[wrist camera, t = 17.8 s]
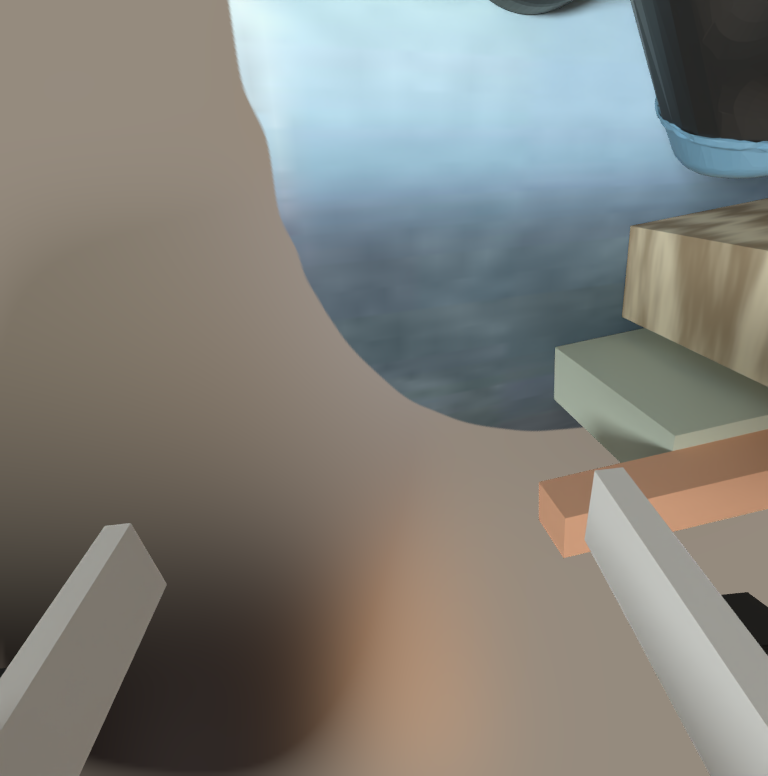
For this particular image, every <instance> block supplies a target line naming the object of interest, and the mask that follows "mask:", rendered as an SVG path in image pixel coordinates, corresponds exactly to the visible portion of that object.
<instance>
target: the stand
mask: <svg viewBox="0 0 768 776" xmlns="http://www.w3.org/2000/svg"><path fill="white" fill-rule="evenodd" d="M622 317H623V318H626V319H628V320H630V321H632V322H634V323H636V324H638V325H640V326H642V327H644V328H646V329H648V330H650V331H653V332H655V333H657V334H659V335H661V336H663V337H665V338H667V339H669V340H671V341H673V342H675V343H678V344H680V345H682V346H684V347H686V348H688V349H690V350H692V351H694V352H696V353H698V354H700V355H702V356H705V357H707V358H709V359H711V360H713V361H715V362H717V363H719V364H721V365H723V366H725V367H727V368H729V369H732V370H734V371H736V372H738V373H740V374H742V375H744V376H746V377H748V378H750V379H752V380H754V381H757V382H759V383H761V384H763V385H765V386H767V387H768V198H766V199H761V200H756V201H752V202H747V203H742V204H737V205H732V206H727V207H722V208H717V209H712V210H707V211H702V212H697V213H692V214H687V215H682V216H677V217H673V218H668V219H663V220H658V221H653V222H648V223H643V224H638V225H633V226H631V228H630V238H629V249H628V259H627V270H626V280H625V290H624V301H623V311H622Z"/></svg>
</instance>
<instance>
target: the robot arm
mask: <svg viewBox="0 0 768 776" xmlns="http://www.w3.org/2000/svg"><path fill="white" fill-rule="evenodd" d="M490 1H492V2H493V3H494V4H496V5H498V6H500V7H501V8H504V9H506V10H509V11H512V12H515V13H520V14H540V13H545V12H549V11H553V10H555V9H558V8H560V7H562V6H564V5H566V4H568V3H569V2H571V1H573V0H490ZM630 1H631V4H632V8H633V12H634V16H635V19H636V23H637V27H638V30H639V34H640V38H641V42H642V45H643V49H644V53H645V56H646V60H647V64H648V68H649V71H650V75H651V79H652V82H653V86H654V90H655V94H656V99H655V109H656V114H657V116H658V118H659V119H660V121H661V124H662V125H663V126H664V127H665V128H666V132H667V135H668V138H669V141H670V144H671V147H672V150H673V152H674V154H675V156H676V157H677V158H678V160H679V161H680V162H681V163H682V164H683V165H684V166H685V167H687V168H688V169H690V170H692V171H695V172H697V173H699V174H703V175H707V176H712V177H719V178H752V177H762V176H768V0H630ZM584 540H585V542H586V544H587V545H588V547H589V549H590V551H591V553H592V555H593V556H594V559H595V560H596V562H597V564H598V566H599V568H600V570H601V572H602V573H603V575H604V577H605V579H606V581H607V583H608V585H609V587H610V588H611V590H612V592H613V594H614V596H615V598H616V600H617V602H618V603H619V605H620V607H621V609H622V611H623V613H624V615H625V617H626V619H627V621H628V622H629V624H630V626H631V628H632V630H633V632H634V634H635V635H636V637H637V639H638V641H639V643H640V645H641V647H642V649H643V650H644V652H645V654H646V656H647V658H648V660H649V662H650V664H651V666H652V667H653V669H654V671H655V673H656V675H657V677H658V679H659V681H660V683H661V684H662V686H663V688H664V690H665V692H666V694H667V696H668V697H669V699H670V701H671V703H672V705H673V707H674V709H675V710H676V712H677V714H678V716H679V718H680V720H681V722H682V724H683V726H684V728H685V729H686V731H687V733H688V735H689V737H690V739H691V741H692V743H693V744H694V746H695V748H696V750H697V752H698V754H699V756H700V757H701V759H702V761H703V763H704V765H705V767H706V769H707V771H708V773H709V775H710V776H768V607H767V606H765V605H764V604H763V603H761V602H760V601H759V600H757V599H756V598H755V597H753V596H752V595H750V594H749V593H748V592H745V593H735V594H727V595H721V594H720V593H719V592H718V590H717V589H716V588H715V586H714V585H713V584H712V583H711V581H710V580H709V579H708V577H707V576H706V575H705V573H704V572H703V571H702V570H701V568H700V567H699V566H698V564H697V563H696V562H695V560H694V559H693V558H692V557H691V555H690V554H689V553H688V551H687V550H686V549H685V547H684V546H683V545H682V544H681V542H680V541H679V540H678V538H677V537H676V536H675V535H674V533H673V532H672V530H671V529H670V528H669V527H668V525H667V524H666V523H665V521H664V520H663V519H662V517H661V516H660V515H659V513H658V512H657V511H656V510H655V508H654V507H653V506H652V504H651V503H650V502H649V500H648V499H647V498H646V497H645V495H644V494H643V493H642V491H641V490H640V489H639V487H638V486H637V485H636V484H635V482H634V481H633V480H632V478H631V477H630V476H629V474H628V473H627V472H626V470H625V469H624V468H623V467H621V468H612V469H603V470H595V471H594V478H593V485H592V492H591V498H590V505H589V512H588V519H587V525H586V532H585V539H584ZM166 585H167V584H166V582H165V581H164V579H163V577H162V575H161V574H160V572H159V570H158V569H157V567H156V565H155V564H154V562H153V560H152V558H151V557H150V555H149V553H148V552H147V550H146V548H145V547H144V545H143V543H142V541H141V540H140V538H139V536H138V535H137V533H136V532H135V530H134V528H133V526H132V524H131V523H127V524H119V525H110V526H105V527H104V528H103V530H102V531H101V533H100V534H99V535H98V537H97V538H96V540H95V541H94V543H93V544H92V545H91V547H90V549H89V550H88V551H87V553H86V554H85V556H84V557H83V559H82V560H81V562H80V563H79V564H78V566H77V568H76V569H75V570H74V572H73V573H72V575H71V576H70V578H69V579H68V580H67V582H66V583H65V585H64V586H63V588H62V589H61V591H60V592H59V593H58V595H57V596H56V598H55V600H54V601H53V602H52V604H51V605H50V607H49V608H48V610H47V611H46V612H45V614H44V615H43V617H42V618H41V620H40V621H39V623H38V624H37V625H36V627H35V629H34V630H33V631H32V633H31V634H30V636H29V637H28V639H27V640H26V642H25V643H24V644H23V646H22V647H21V649H20V650H19V652H18V653H17V655H16V656H15V657H14V659H13V661H12V662H11V663H10V665H9V666H8V668H2V669H0V776H79V775H80V772H81V770H82V768H83V766H84V764H85V761H86V759H87V757H88V755H89V753H90V751H91V748H92V746H93V744H94V742H95V739H96V737H97V735H98V733H99V731H100V729H101V726H102V724H103V722H104V720H105V718H106V716H107V713H108V711H109V709H110V707H111V705H112V702H113V700H114V698H115V696H116V694H117V692H118V690H119V687H120V685H121V683H122V681H123V678H124V676H125V674H126V672H127V670H128V668H129V665H130V663H131V661H132V659H133V657H134V655H135V652H136V650H137V648H138V646H139V644H140V641H141V639H142V637H143V635H144V633H145V630H146V628H147V626H148V624H149V622H150V620H151V618H152V615H153V613H154V611H155V609H156V607H157V604H158V602H159V600H160V598H161V596H162V593H163V591H164V589H165V587H166Z"/></svg>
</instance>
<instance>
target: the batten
mask: <svg viewBox="0 0 768 776" xmlns="http://www.w3.org/2000/svg"><path fill="white" fill-rule="evenodd" d="M621 467H623V468H624V469H625V470H626V472H627V473H628V474H629V476H630V477H631V478H632V480H633V481H634V482H635V484H636V485H637V486H638V487H639V489H640V490H641V491H642V493H643V494H644V495H645V497H646V498H647V499H648V500H649V502H650V503H651V504H652V506H653V507H654V508H655V510H656V511H657V512H658V513H659V515H660V516H661V517H662V519H663V520H664V521H665V523H666V524H667V525H668V527H669V528H670V529H671V530H672V532H674V531H678V530H682V529H686V528H690V527H694V526H698V525H702V524H707V523H711V522H715V521H719V520H723V519H727V518H731V517H736V516H740V515H744V514H748V513H752V512H756V511H761V510H765V509H768V429H766V430H761V431H757V432H753V433H748V434H744V435H740V436H736V437H731V438H727V439H723V440H718V441H714V442H710V443H705V444H701V445H697V446H692V447H688V448H684V449H679V450H675V451H671V452H666V453H662V454H658V455H653V456H649V457H645V458H640V459H636V460H632V461H628V462H623V463H619V464H615V465H610V466H606V467H602V468H597V469H593V470H589V471H584V472H580V473H576V474H572V475H568V476H563V477H558V478H554V479H550V480H546V481H541V482H539V520H540V522H541V523H542V525H543V527H544V528H545V530H546V531H547V533H548V534H549V536H550V538H551V539H552V541H553V542H554V544H555V545H556V547H557V548H558V550H559V551H560V553H561V555H562V556H563V558H565V557H570V556H574V555H578V554H582V553H586V552H591V551H590V549H589V547H588V545H587V544H586V542H585V540H584V539H585V532H586V525H587V519H588V512H589V505H590V498H591V492H592V485H593V478H594V471H595V470H603V469H612V468H621Z"/></svg>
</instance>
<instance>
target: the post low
mask: <svg viewBox="0 0 768 776" xmlns="http://www.w3.org/2000/svg"><path fill="white" fill-rule="evenodd" d="M554 399H555V400H556V401H557V402H558V403H559V404H560V405H561V406H562V407H563V408H564V409H565V410H566V411H567V412H568V413H569V414H570V415H571V416H572V417H573V418H575V419H576V420H577V421H578V422H579V423H580V424H581V425H582V426H583V427H584V428H585V429H586V430H587V431H588V432H589V433H590V434H591V435H592V436H593V437H594V438H596V440H597V441H598V442H600V443H601V444H602V445H603V446H604V447H605V448H606V449H607V450H608V451H609V452H610V453H611V454H612V455H613V456H614V457H615V458H616V459H617V460H618V461H620V463H623V462H628V461H632V460H636V459H640V458H645V457H649V456H653V455H658V454H662V453H666V452H671V451H675V450H679V449H684V448H688V447H692V446H697V445H701V444H705V443H710V442H714V441H718V440H723V439H727V438H731V437H736V436H740V435H744V434H748V433H753V432H757V431H761V430H766V429H768V387H767V386H765V385H763V384H761V383H759V382H757V381H754V380H752V379H750V378H748V377H746V376H744V375H742V374H740V373H738V372H736V371H734V370H732V369H729V368H727V367H725V366H723V365H721V364H719V363H717V362H715V361H713V360H711V359H709V358H707V357H705V356H702V355H700V354H698V353H696V352H694V351H692V350H690V349H688V348H686V347H684V346H682V345H680V344H678V343H675V342H673V341H671V340H669V339H667V338H665V337H663V336H661V335H659V334H657V333H655V332H653V331H650V330H648V329H646V328H642V329H637V330H633V331H628V332H624V333H619V334H614V335H610V336H605V337H600V338H596V339H591V340H586V341H582V342H577V343H572V344H568V345H563V346H559V347H555V382H554Z"/></svg>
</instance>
